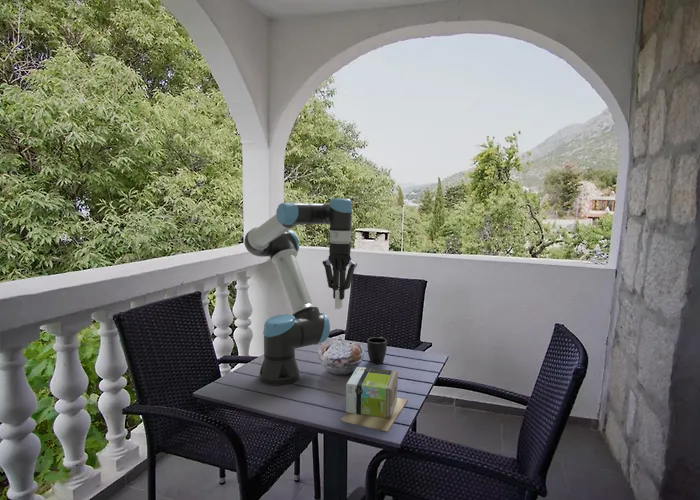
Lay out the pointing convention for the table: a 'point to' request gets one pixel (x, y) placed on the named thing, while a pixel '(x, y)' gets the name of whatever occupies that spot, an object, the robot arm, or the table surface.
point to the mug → (377, 349)
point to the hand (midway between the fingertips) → (338, 307)
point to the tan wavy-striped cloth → (376, 418)
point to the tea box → (372, 392)
